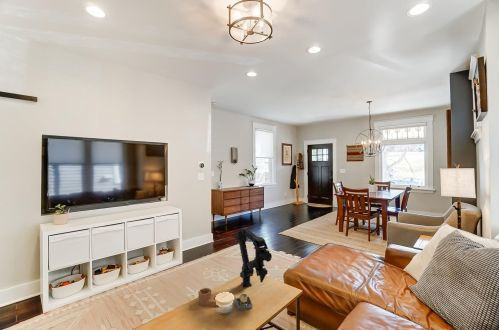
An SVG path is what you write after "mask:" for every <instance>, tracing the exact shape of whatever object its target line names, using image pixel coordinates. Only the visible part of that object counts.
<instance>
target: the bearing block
mask: <svg viewBox="0 0 499 330" xmlns="http://www.w3.org/2000/svg"><path fill="white" fill-rule="evenodd" d="M234 303H235V306H236V308H237V311H238V312H239V311H244V310H245V311H246V310H249V309H250V310H251V309H253V303H252V300H251V299H250V296H247V305H240V297H235V298H234Z"/></svg>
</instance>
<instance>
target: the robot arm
mask: <svg viewBox="0 0 499 330" xmlns="http://www.w3.org/2000/svg"><path fill="white" fill-rule="evenodd" d="M234 236H235V240H236V242H237V243H238V245H239V249H240V255H241V262H242V266H241V272H240V273H239V277H240V278H242V282H241V285H242V287H243V288H245V287H246V288H248V287H252V283H251V277H253V276H254V273H256V277H259V280H260V283H263V282H264V279H265V278H266V276H267V275H268V274H269V273H268V272H269V271H268V269H267V268H266V267H265V262H268V263H269V262H271V260H272V259H273V256H272V253H271V252H270V250H268V249H269V247H268V245H267V243H266V240H265V238H264V237H262V236H258V235H256V234H255V233H253V232H252V231H251V230H250V229H249V228H244V229H241V230H240V231H238V232H236V233H235V234H234ZM247 240H250V241H251V242H252V245H253V246H254V247H253V249H254V250H255V251H254V253H255V255H254V258H253V260H250V259H249V255H248V254H249V253H248V248H247V244H246V242H247ZM254 268H255V271H254Z"/></svg>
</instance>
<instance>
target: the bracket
mask: <svg viewBox="0 0 499 330" xmlns="http://www.w3.org/2000/svg"><path fill="white" fill-rule="evenodd" d="M216 295H217V294H212V289H211V288H209V287H203V288H201V289H200V290H198V305H200V306H203V307H205V306H206V307H217V306H216V300H215V297H216Z"/></svg>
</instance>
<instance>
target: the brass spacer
mask: <svg viewBox="0 0 499 330" xmlns="http://www.w3.org/2000/svg"><path fill="white" fill-rule="evenodd" d="M247 297H248V295H247V294H245V293H242V294H240V295H239V298H240V302H239V306H240V305H247V304H248V301H247Z"/></svg>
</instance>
